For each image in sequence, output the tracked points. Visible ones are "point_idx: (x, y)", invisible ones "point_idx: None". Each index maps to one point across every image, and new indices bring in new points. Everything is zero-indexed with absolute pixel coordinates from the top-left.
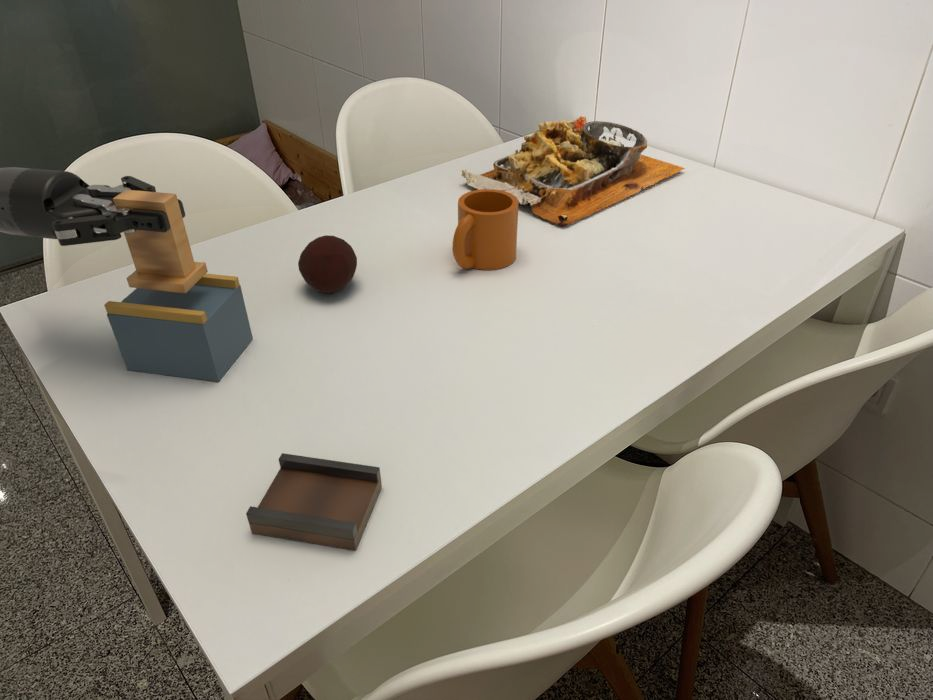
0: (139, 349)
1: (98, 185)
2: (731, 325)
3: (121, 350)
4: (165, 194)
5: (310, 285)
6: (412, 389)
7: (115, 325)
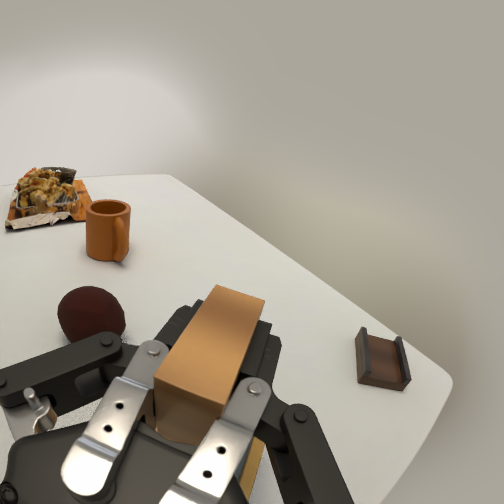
0: None
1: (74, 456)
2: (222, 215)
3: None
4: (217, 297)
5: None
6: (267, 317)
7: None
